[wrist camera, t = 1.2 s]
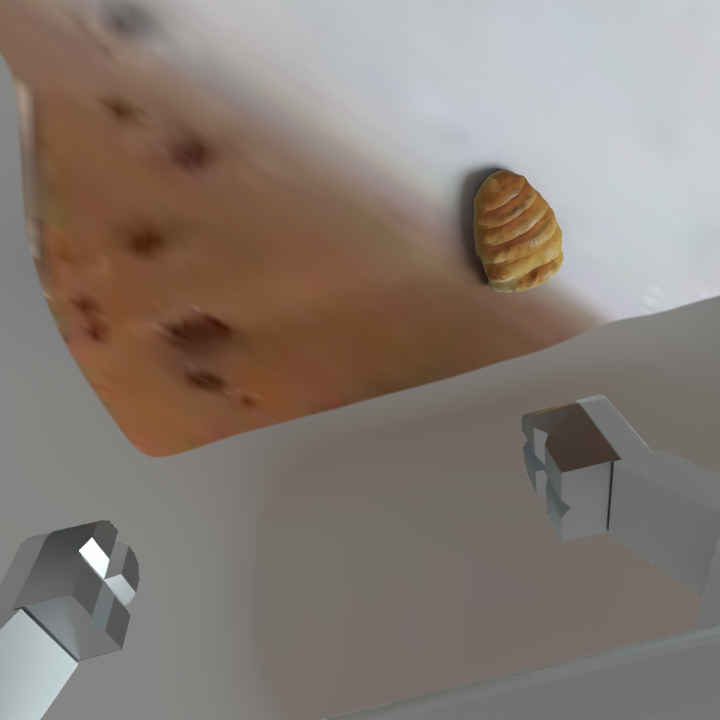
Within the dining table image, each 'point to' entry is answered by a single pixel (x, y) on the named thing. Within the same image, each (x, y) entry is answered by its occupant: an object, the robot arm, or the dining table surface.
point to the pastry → (515, 233)
